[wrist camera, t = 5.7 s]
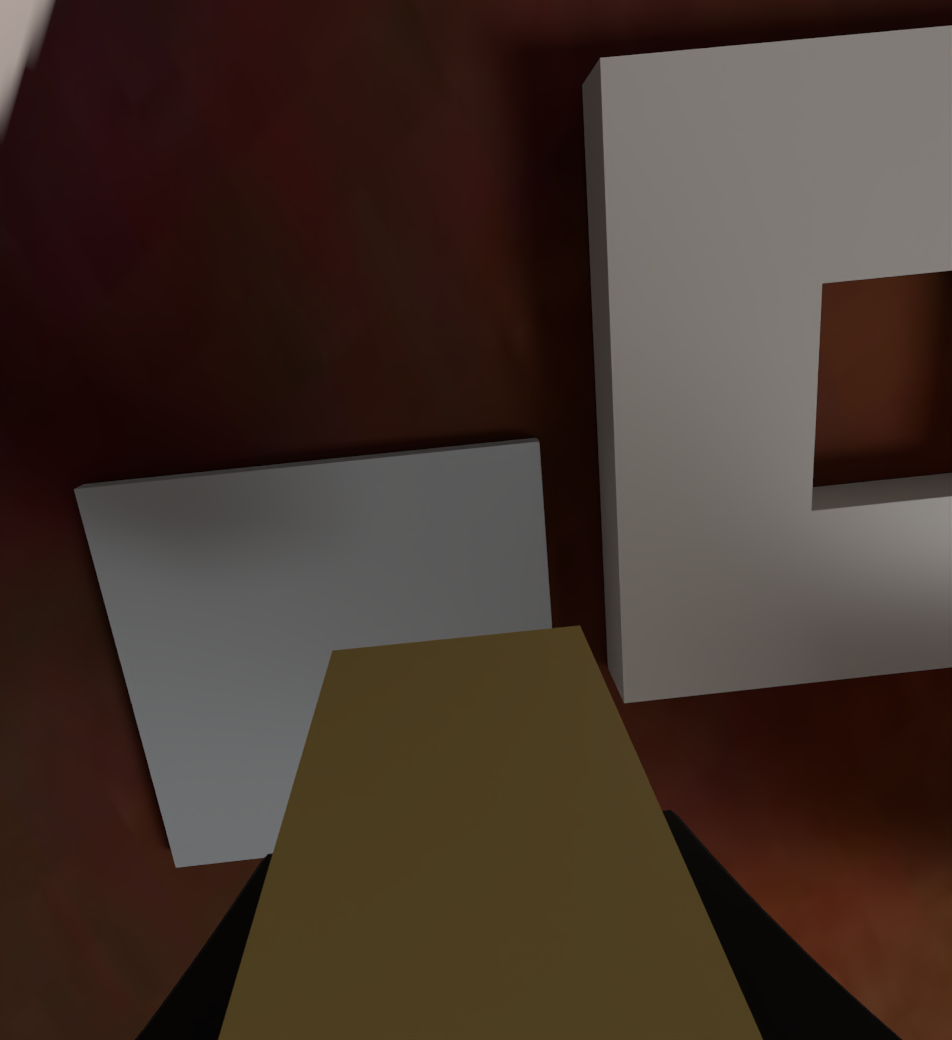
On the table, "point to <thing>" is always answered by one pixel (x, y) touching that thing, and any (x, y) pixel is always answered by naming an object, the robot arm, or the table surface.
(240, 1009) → the block
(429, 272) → the table surface
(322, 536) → the mat
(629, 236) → the pocket holder
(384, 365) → the table surface
